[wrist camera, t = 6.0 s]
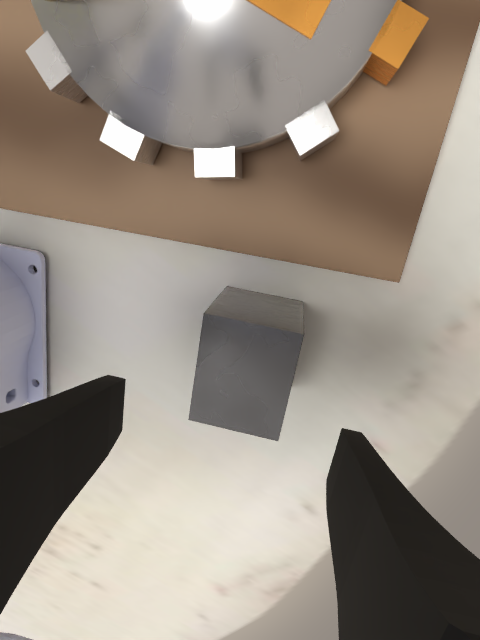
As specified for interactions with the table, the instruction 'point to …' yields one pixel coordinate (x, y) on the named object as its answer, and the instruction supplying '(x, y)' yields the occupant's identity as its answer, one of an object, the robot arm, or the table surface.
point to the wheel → (218, 69)
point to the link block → (247, 362)
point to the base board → (246, 161)
